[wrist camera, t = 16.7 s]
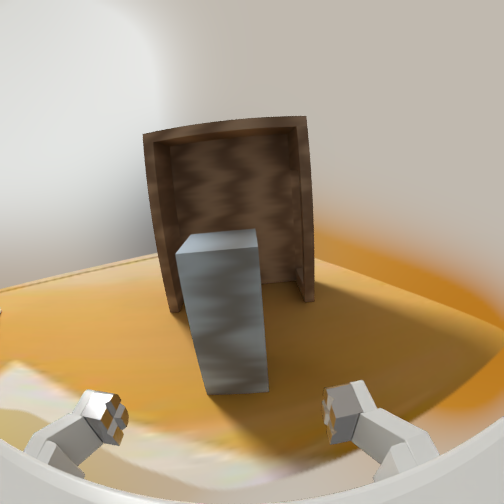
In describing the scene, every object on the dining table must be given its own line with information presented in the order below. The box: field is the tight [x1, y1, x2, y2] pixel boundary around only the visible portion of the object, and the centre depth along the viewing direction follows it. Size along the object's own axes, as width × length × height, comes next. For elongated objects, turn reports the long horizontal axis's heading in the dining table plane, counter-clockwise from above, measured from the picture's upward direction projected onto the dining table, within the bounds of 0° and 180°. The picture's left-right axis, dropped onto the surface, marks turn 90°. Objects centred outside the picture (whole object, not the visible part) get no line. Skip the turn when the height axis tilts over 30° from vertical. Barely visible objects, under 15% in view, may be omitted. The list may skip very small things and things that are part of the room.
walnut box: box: [143, 116, 314, 312], centre depth 34 cm, size 18×8×22 cm, turn 91°
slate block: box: [175, 228, 269, 395], centre depth 20 cm, size 5×5×12 cm
